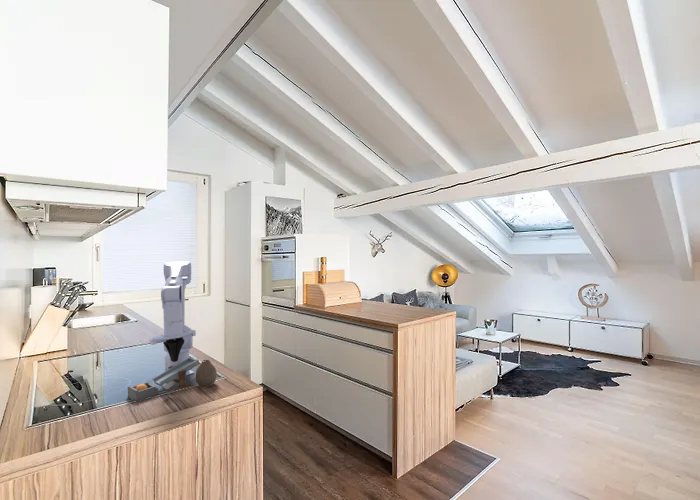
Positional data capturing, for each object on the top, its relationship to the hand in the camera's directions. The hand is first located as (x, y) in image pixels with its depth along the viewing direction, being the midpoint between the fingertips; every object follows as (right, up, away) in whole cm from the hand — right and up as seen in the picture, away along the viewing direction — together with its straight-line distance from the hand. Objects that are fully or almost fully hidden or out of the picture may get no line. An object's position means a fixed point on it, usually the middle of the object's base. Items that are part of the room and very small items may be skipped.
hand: (174, 361), depth 121 cm
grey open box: (-8, -10, -4) cm, 14 cm away
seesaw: (+1, -6, +2) cm, 6 cm away
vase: (+9, -10, +4) cm, 14 cm away
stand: (-1, -10, +5) cm, 11 cm away
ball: (-9, -8, -4) cm, 13 cm away
